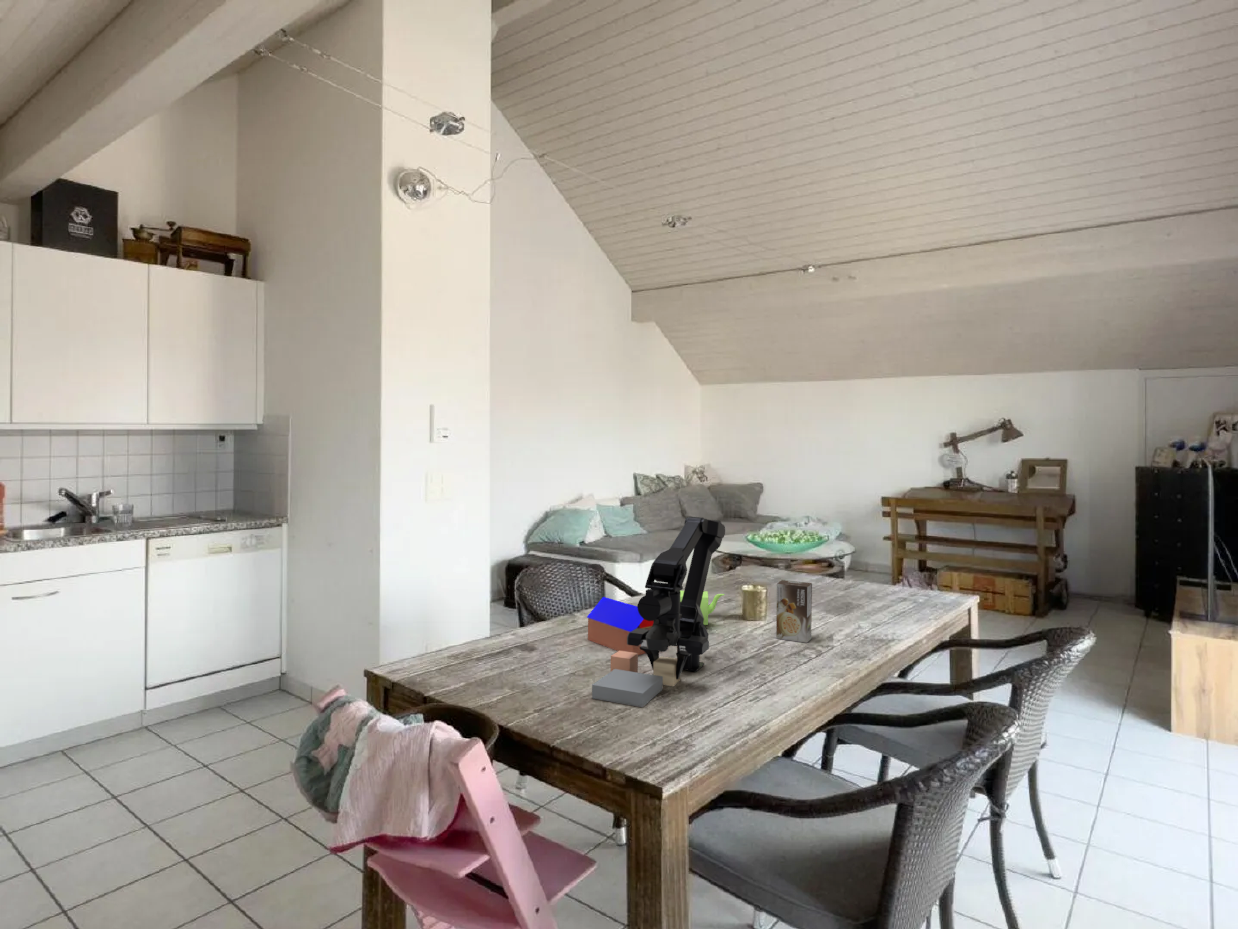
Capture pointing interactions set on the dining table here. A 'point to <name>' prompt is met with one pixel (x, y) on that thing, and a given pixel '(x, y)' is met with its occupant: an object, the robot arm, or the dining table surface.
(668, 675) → the birch cube
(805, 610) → the coffee box
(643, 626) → the house
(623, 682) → the slate board
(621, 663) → the terracotta cube
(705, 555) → the robot arm
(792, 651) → the dining table surface
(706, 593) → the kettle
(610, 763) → the dining table surface
